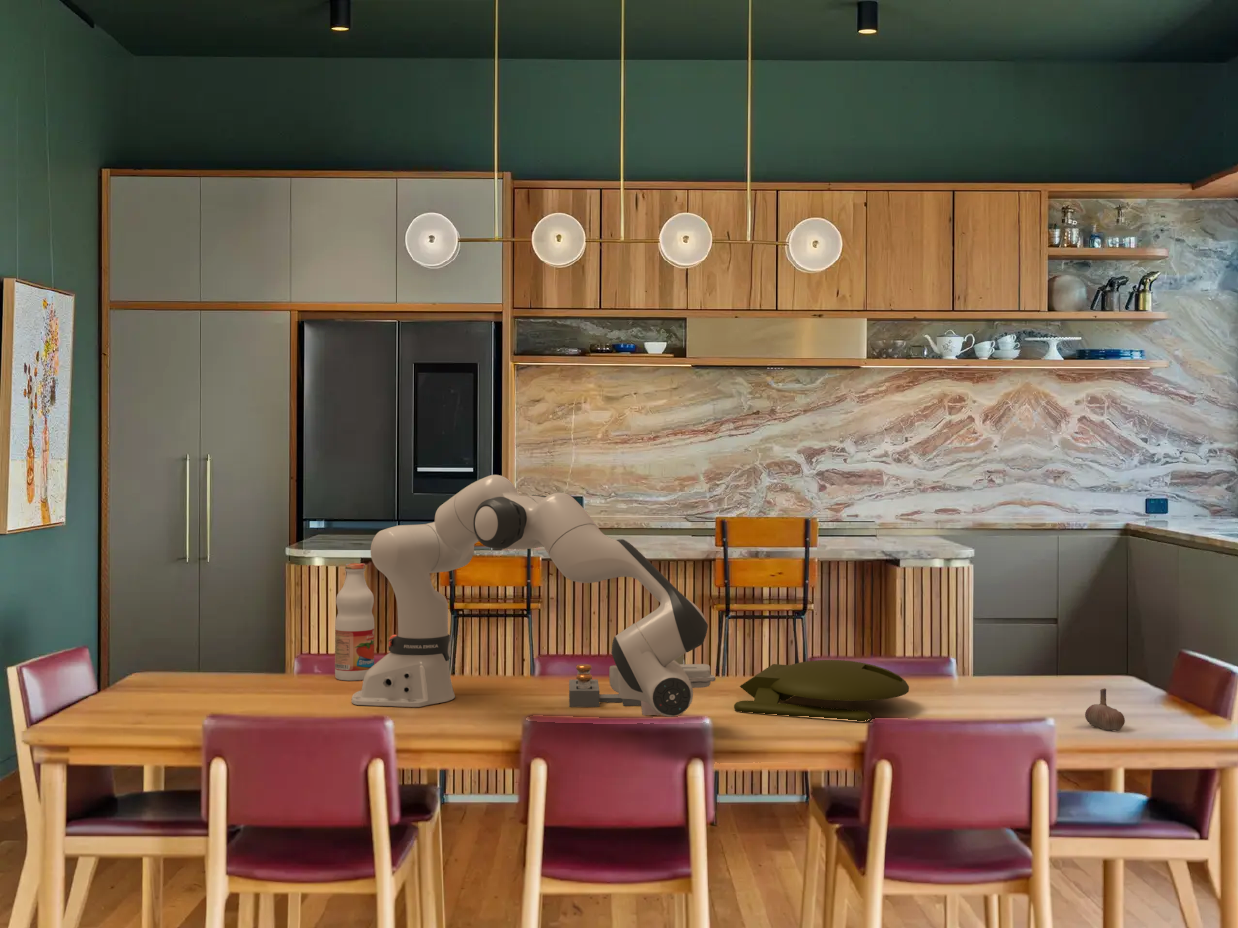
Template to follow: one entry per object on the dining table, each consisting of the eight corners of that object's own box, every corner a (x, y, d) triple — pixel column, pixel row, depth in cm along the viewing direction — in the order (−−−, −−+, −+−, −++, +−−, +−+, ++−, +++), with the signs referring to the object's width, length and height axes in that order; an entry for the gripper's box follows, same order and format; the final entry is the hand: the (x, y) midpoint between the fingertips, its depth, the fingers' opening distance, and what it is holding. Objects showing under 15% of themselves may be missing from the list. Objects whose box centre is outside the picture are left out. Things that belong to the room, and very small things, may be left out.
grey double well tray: (569, 706, 238) (569, 690, 238) (569, 694, 251) (569, 679, 251) (674, 706, 239) (674, 690, 239) (668, 694, 252) (668, 679, 252)
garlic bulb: (1082, 722, 225) (1082, 683, 225) (1121, 725, 223) (1121, 686, 223) (1087, 731, 218) (1087, 690, 218) (1127, 733, 216) (1127, 693, 216)
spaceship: (730, 714, 234) (731, 668, 234) (765, 688, 262) (765, 646, 262) (899, 728, 221) (899, 680, 221) (916, 699, 249) (916, 656, 250)
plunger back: (576, 691, 246) (576, 666, 246) (576, 688, 249) (576, 664, 249) (591, 691, 246) (591, 666, 246) (591, 688, 249) (591, 664, 249)
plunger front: (576, 702, 240) (576, 676, 240) (576, 698, 243) (576, 673, 243) (592, 702, 240) (592, 676, 240) (591, 698, 243) (591, 673, 243)
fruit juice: (341, 673, 276) (342, 562, 276) (378, 674, 275) (379, 562, 275) (329, 680, 266) (330, 565, 266) (367, 681, 266) (368, 565, 266)
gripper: (717, 663, 212) (707, 653, 226) (611, 665, 211) (607, 654, 225) (717, 696, 212) (707, 683, 226) (611, 698, 211) (608, 685, 225)
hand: (656, 669), depth 225 cm, fingers open, 8 cm apart
